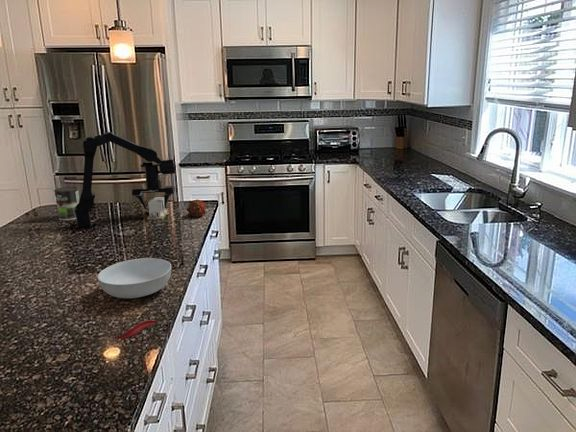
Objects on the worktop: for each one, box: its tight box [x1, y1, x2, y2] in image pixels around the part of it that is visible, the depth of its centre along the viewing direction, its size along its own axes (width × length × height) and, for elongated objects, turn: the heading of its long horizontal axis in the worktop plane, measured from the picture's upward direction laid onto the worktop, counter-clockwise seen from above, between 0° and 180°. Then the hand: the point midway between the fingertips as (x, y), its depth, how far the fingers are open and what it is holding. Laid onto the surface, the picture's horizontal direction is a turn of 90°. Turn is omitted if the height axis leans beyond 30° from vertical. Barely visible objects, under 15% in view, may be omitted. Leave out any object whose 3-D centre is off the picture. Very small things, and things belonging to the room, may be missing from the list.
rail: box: [146, 196, 169, 221], centre depth 223 cm, size 16×7×7 cm, turn 5°
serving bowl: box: [97, 257, 172, 299], centre depth 139 cm, size 21×21×7 cm
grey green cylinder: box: [53, 186, 80, 221], centre depth 223 cm, size 10×10×14 cm
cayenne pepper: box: [114, 319, 159, 339], centre depth 117 cm, size 12×5×2 cm, turn 124°
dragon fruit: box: [186, 199, 207, 218], centre depth 221 cm, size 8×8×12 cm
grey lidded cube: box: [147, 199, 163, 217], centre depth 220 cm, size 6×5×7 cm
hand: (155, 208), depth 220 cm, fingers open, 9 cm apart
